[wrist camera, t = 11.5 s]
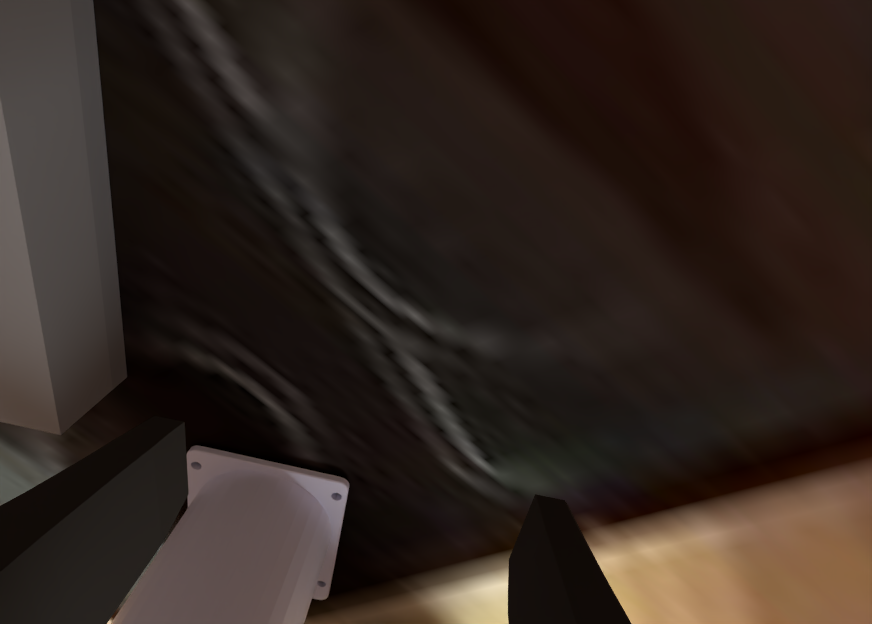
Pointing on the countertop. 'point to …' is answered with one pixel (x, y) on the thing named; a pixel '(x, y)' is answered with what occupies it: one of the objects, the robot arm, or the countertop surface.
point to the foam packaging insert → (55, 220)
